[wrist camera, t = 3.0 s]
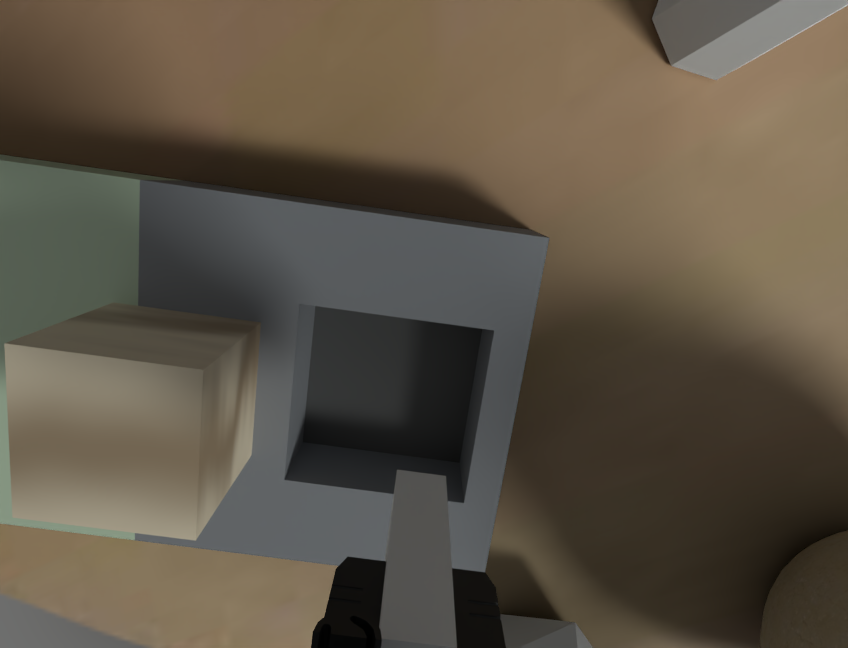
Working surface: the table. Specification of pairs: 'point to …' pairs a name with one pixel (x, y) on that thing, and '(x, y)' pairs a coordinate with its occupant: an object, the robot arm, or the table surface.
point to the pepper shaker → (732, 30)
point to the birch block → (130, 418)
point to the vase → (810, 599)
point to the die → (541, 633)
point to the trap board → (298, 341)
